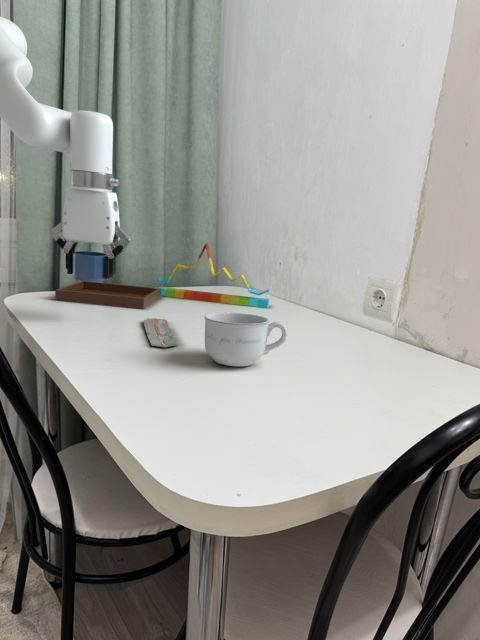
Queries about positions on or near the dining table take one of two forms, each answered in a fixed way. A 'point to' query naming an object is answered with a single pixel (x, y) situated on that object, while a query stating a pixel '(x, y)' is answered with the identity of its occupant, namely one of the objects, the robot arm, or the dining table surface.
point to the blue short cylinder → (88, 266)
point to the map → (159, 332)
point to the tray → (109, 294)
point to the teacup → (239, 337)
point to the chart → (213, 296)
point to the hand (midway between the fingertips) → (90, 274)
